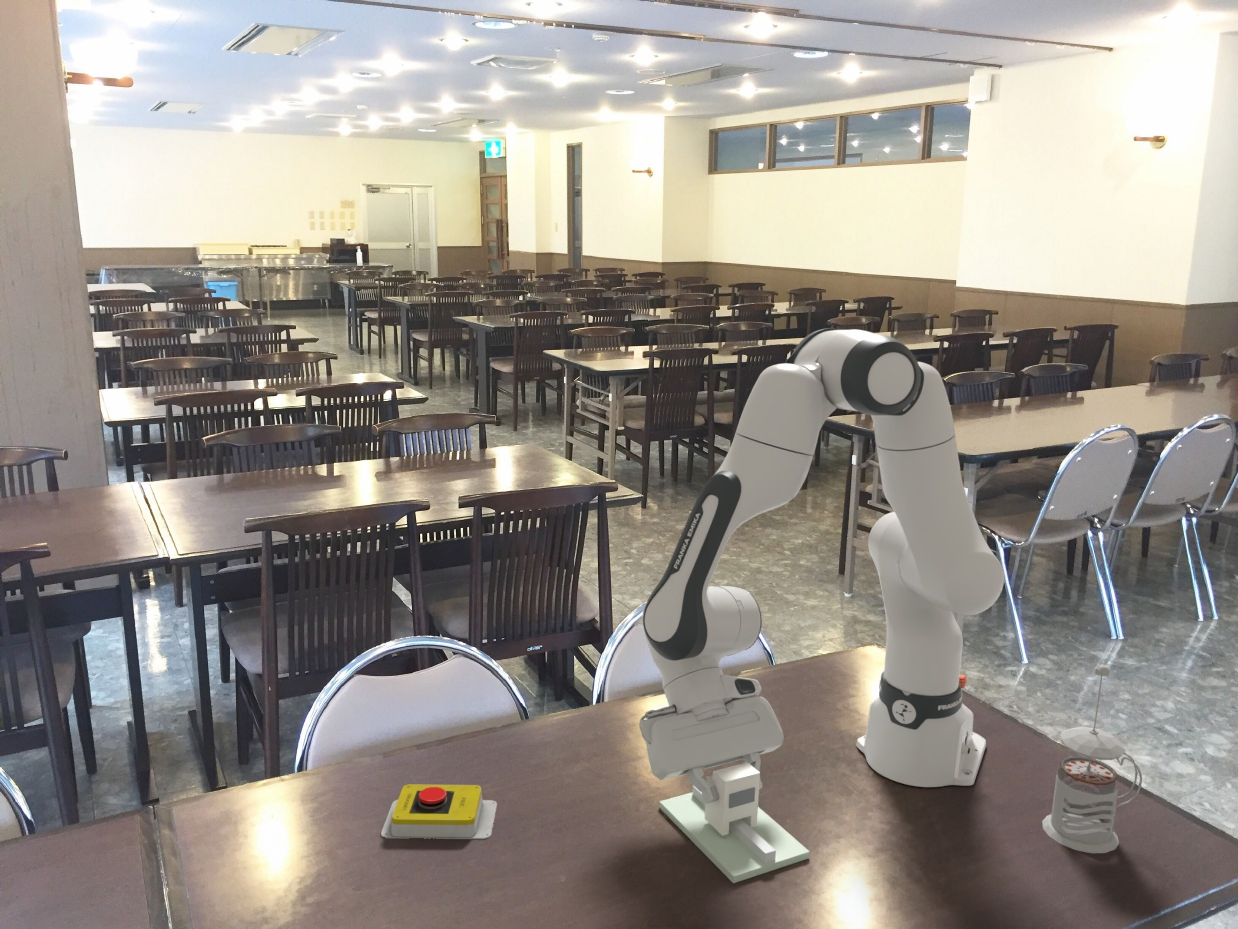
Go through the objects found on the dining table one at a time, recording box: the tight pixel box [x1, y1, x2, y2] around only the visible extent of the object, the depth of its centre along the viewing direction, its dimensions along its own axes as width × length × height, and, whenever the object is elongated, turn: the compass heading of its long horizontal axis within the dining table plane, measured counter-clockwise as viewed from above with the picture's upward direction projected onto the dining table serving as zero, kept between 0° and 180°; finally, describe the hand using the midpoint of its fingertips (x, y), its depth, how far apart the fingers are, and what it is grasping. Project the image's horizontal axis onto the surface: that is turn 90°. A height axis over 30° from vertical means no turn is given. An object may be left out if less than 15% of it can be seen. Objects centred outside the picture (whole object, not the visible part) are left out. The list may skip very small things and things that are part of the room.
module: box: [704, 762, 761, 836], centre depth 135 cm, size 5×6×8 cm
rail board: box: [658, 785, 810, 884], centre depth 136 cm, size 19×12×2 cm, turn 27°
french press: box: [1041, 664, 1143, 854], centre depth 135 cm, size 10×12×25 cm
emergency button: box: [380, 783, 498, 840], centre depth 138 cm, size 9×4×15 cm
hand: (734, 795), depth 134 cm, fingers closed on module, 6 cm apart
